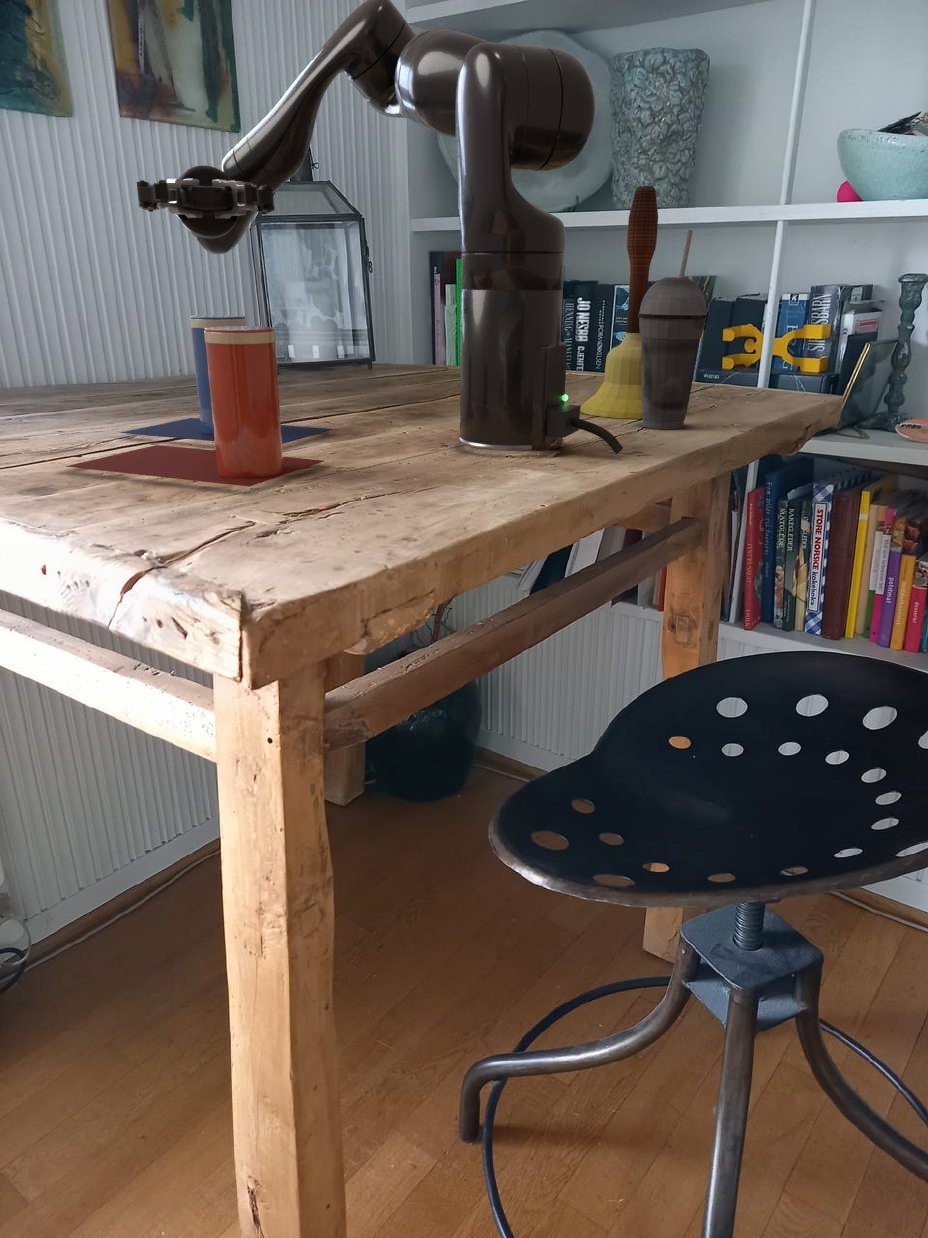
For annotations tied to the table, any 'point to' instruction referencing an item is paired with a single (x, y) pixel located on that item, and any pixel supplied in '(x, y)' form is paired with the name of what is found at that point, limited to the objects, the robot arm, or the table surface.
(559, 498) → the table surface
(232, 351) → the cylinder
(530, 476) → the table surface
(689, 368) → the beverage cup
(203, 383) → the blue tumbler
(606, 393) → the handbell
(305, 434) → the blue mat
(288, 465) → the red mat
